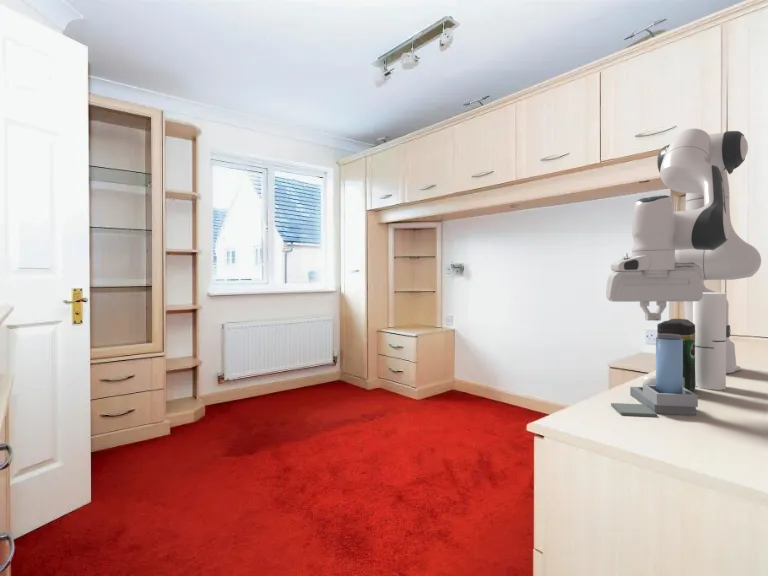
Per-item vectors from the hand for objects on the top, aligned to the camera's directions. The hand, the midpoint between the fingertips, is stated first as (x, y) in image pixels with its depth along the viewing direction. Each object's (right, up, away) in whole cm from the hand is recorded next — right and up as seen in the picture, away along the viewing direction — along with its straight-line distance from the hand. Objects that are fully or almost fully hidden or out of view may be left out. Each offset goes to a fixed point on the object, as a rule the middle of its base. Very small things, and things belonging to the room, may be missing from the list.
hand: (652, 320), depth 106 cm
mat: (-10, -20, -9) cm, 23 cm away
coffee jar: (+11, -19, +8) cm, 23 cm away
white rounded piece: (0, -17, +1) cm, 17 cm away
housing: (-1, -19, -4) cm, 20 cm away
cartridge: (-2, -17, -8) cm, 19 cm away
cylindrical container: (+22, -19, +11) cm, 31 cm away
